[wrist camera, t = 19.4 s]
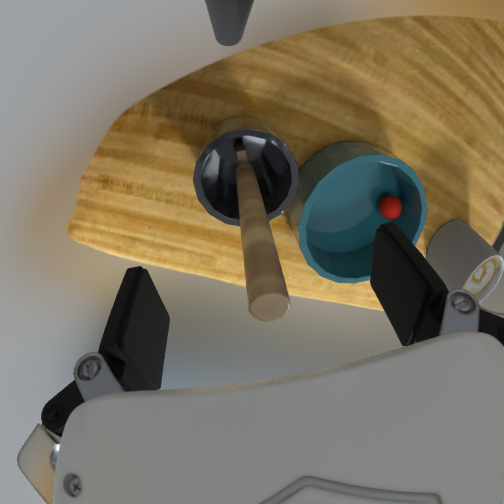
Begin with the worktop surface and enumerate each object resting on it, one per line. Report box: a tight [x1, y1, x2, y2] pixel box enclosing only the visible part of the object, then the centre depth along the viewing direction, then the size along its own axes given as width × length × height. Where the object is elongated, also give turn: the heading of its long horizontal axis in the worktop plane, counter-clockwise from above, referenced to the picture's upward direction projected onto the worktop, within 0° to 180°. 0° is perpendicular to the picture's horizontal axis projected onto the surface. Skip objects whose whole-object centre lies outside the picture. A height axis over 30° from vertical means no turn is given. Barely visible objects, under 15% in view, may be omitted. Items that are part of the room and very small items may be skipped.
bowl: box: [288, 141, 427, 283], centre depth 31 cm, size 16×16×6 cm
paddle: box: [235, 140, 290, 321], centre depth 20 cm, size 4×2×22 cm, turn 9°
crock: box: [193, 116, 299, 226], centre depth 25 cm, size 8×8×9 cm
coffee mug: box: [427, 220, 504, 303], centre depth 35 cm, size 13×10×10 cm
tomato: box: [379, 195, 402, 219], centre depth 32 cm, size 3×3×3 cm
